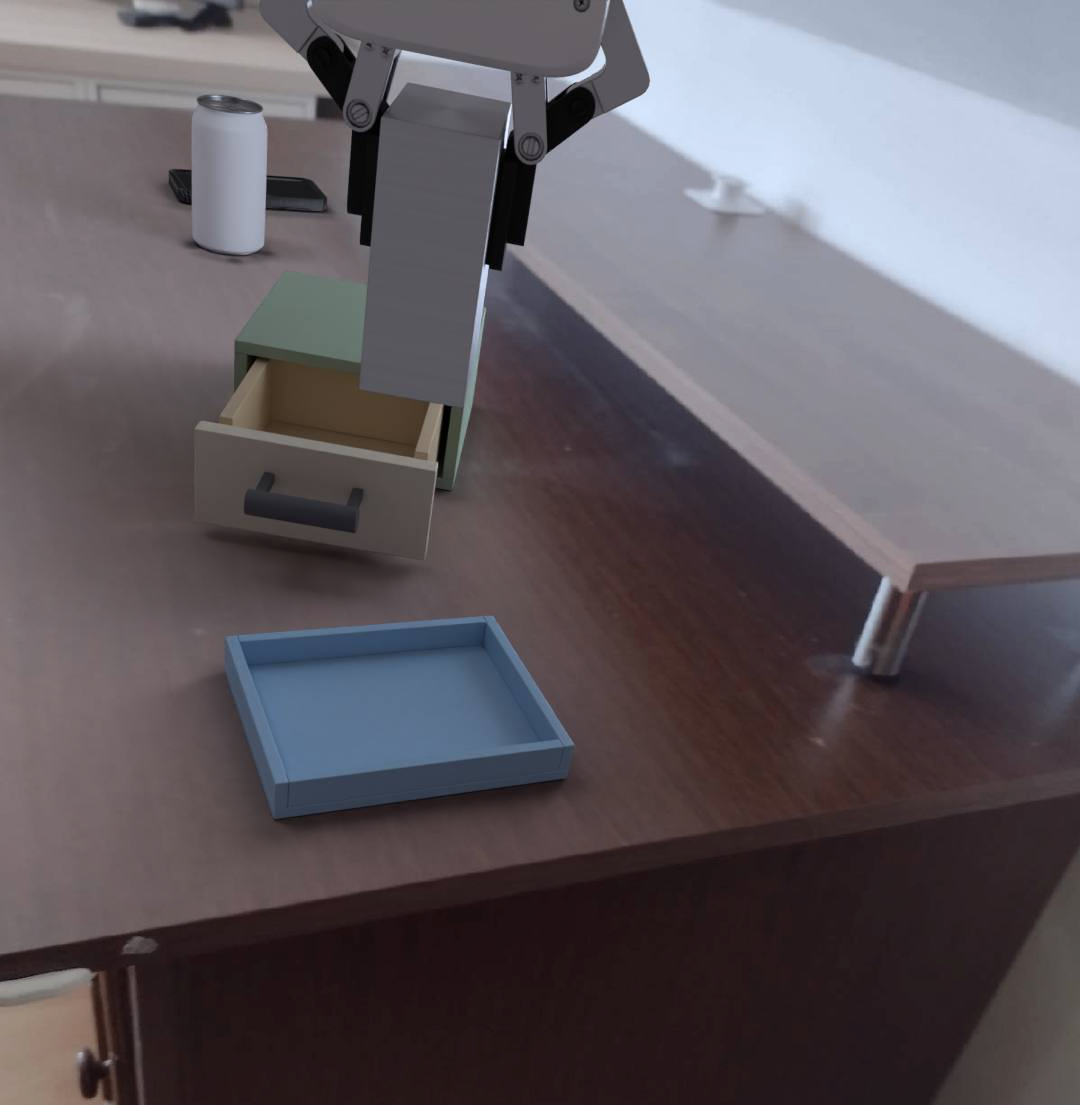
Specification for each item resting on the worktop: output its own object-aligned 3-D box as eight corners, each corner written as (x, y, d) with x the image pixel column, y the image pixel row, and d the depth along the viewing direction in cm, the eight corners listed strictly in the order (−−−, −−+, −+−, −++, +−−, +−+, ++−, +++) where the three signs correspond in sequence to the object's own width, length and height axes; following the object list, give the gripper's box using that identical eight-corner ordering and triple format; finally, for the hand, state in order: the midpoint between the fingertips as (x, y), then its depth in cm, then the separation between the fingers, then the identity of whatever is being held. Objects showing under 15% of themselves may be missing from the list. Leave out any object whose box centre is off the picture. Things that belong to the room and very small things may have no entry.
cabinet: (452, 491, 79) (467, 382, 75) (232, 452, 78) (234, 339, 74) (472, 405, 91) (486, 306, 86) (280, 371, 90) (285, 269, 85)
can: (222, 228, 114) (223, 90, 107) (278, 248, 112) (283, 109, 105) (177, 241, 109) (175, 97, 102) (235, 261, 107) (237, 116, 100)
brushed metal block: (358, 390, 47) (380, 116, 41) (383, 330, 53) (406, 81, 47) (463, 408, 48) (500, 140, 42) (477, 347, 53) (512, 102, 47)
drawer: (416, 595, 67) (427, 503, 63) (175, 554, 66) (173, 458, 62) (448, 462, 80) (459, 380, 77) (250, 427, 80) (252, 342, 76)
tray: (273, 820, 52) (275, 783, 51) (224, 670, 60) (224, 635, 58) (567, 778, 58) (575, 745, 56) (487, 646, 65) (492, 614, 64)
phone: (166, 168, 122) (310, 177, 128) (166, 179, 123) (310, 188, 129) (180, 191, 117) (330, 200, 123) (180, 203, 117) (329, 211, 123)
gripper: (193, -448, 33) (196, 235, 44) (786, -315, 34) (645, 318, 45) (256, -406, 39) (245, 185, 50) (758, -294, 40) (639, 260, 51)
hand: (435, 243), depth 47 cm, fingers closed on brushed metal block, 4 cm apart
